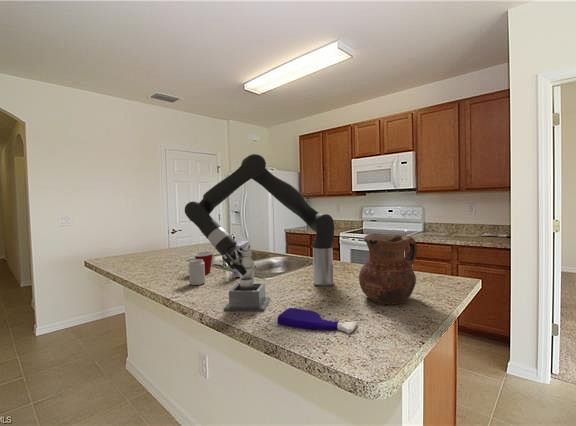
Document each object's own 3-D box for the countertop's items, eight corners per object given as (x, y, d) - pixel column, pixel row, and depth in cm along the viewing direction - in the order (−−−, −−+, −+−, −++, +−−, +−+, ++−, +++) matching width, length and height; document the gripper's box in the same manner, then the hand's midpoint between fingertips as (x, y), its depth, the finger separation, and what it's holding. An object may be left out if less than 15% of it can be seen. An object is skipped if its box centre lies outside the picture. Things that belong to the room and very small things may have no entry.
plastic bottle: (258, 300, 119) (257, 249, 118) (251, 306, 113) (249, 252, 112) (244, 298, 121) (242, 249, 121) (236, 304, 115) (234, 252, 114)
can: (208, 282, 152) (207, 258, 151) (198, 286, 145) (197, 261, 144) (196, 281, 155) (195, 258, 154) (186, 285, 148) (185, 261, 147)
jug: (386, 312, 105) (385, 241, 104) (347, 296, 124) (346, 235, 123) (429, 301, 116) (428, 236, 114) (387, 287, 134) (386, 231, 133)
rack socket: (270, 299, 123) (269, 282, 122) (263, 311, 110) (263, 292, 109) (234, 299, 124) (233, 282, 124) (224, 310, 112) (223, 292, 111)
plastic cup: (190, 274, 169) (189, 253, 169) (204, 270, 179) (203, 250, 178) (204, 276, 164) (203, 254, 163) (218, 272, 173) (217, 251, 172)
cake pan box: (239, 278, 158) (238, 245, 157) (230, 278, 159) (229, 245, 158) (251, 270, 176) (250, 240, 176) (243, 270, 177) (242, 240, 177)
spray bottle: (274, 317, 98) (350, 330, 87) (289, 306, 107) (358, 316, 97) (275, 326, 98) (350, 340, 87) (289, 314, 108) (358, 325, 97)
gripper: (218, 236, 111) (248, 268, 108) (236, 232, 125) (262, 260, 122) (206, 250, 113) (235, 282, 110) (225, 245, 127) (251, 273, 124)
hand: (249, 271), depth 116 cm, fingers open, 8 cm apart
